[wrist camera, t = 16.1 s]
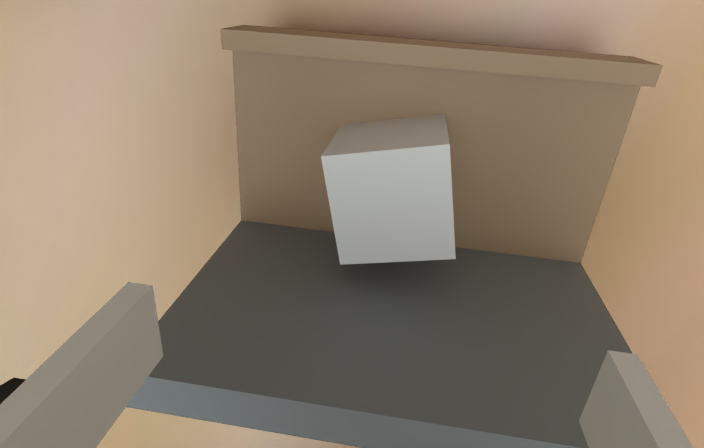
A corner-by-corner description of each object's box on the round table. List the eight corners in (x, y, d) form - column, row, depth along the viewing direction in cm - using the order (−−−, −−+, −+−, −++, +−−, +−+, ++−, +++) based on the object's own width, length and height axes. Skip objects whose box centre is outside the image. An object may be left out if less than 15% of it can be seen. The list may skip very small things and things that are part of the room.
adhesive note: (445, 112, 26) (450, 143, 20) (450, 209, 28) (456, 259, 23) (340, 124, 27) (320, 156, 22) (355, 216, 30) (339, 265, 24)
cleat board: (543, 232, 37) (676, 501, 17) (276, 200, 39) (124, 406, 19) (596, 46, 30) (905, 137, 11) (273, 20, 32) (45, 57, 13)
